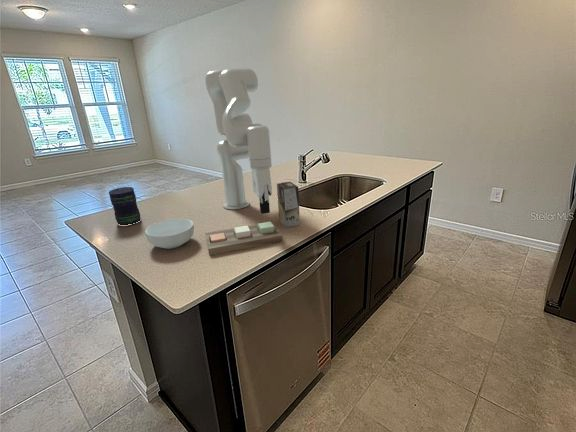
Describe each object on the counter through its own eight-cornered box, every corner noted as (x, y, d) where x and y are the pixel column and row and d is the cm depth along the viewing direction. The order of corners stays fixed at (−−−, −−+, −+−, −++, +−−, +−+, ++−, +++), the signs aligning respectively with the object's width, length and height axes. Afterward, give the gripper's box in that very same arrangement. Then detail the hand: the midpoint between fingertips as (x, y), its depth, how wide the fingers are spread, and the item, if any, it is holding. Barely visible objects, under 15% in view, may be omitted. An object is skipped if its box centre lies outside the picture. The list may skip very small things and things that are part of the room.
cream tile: (235, 235, 116) (234, 227, 115) (248, 232, 118) (247, 225, 117) (237, 240, 112) (236, 232, 111) (250, 238, 113) (250, 230, 112)
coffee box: (300, 224, 126) (299, 186, 120) (285, 227, 124) (283, 189, 118) (292, 217, 134) (290, 181, 128) (278, 219, 132) (275, 183, 126)
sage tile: (258, 230, 119) (257, 223, 118) (271, 228, 120) (270, 221, 119) (261, 236, 114) (260, 228, 113) (274, 233, 116) (274, 226, 115)
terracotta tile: (211, 242, 115) (209, 235, 113) (224, 240, 116) (223, 232, 115) (212, 248, 110) (211, 240, 109) (226, 245, 111) (225, 238, 110)
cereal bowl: (205, 241, 116) (202, 224, 114) (163, 259, 105) (159, 240, 102) (181, 230, 127) (178, 214, 124) (141, 246, 116) (136, 228, 113)
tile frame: (206, 238, 118) (205, 232, 117) (271, 227, 125) (271, 221, 124) (209, 255, 106) (208, 249, 105) (282, 241, 113) (281, 235, 112)
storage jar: (146, 220, 140) (138, 188, 134) (126, 228, 132) (117, 195, 126) (132, 216, 145) (124, 186, 139) (112, 224, 137) (103, 192, 131)
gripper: (245, 160, 113) (251, 208, 120) (254, 168, 100) (259, 221, 106) (265, 158, 115) (269, 205, 122) (277, 165, 102) (280, 217, 108)
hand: (265, 212), depth 114 cm, fingers closed
